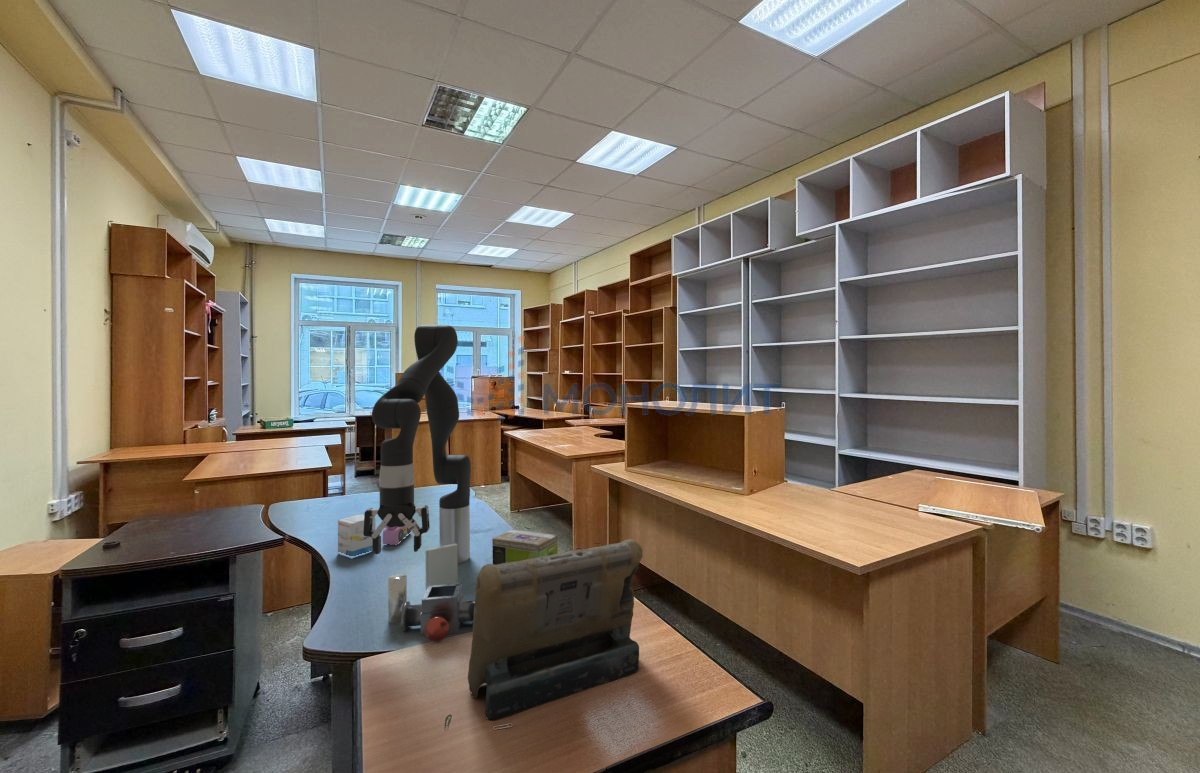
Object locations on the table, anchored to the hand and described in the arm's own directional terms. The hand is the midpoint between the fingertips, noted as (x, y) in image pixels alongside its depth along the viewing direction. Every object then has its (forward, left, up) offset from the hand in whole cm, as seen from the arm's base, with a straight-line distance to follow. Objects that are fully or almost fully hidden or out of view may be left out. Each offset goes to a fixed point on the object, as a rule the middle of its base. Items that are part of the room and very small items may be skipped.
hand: (397, 551), depth 112 cm
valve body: (+5, +11, -16) cm, 20 cm away
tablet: (+29, +36, -16) cm, 49 cm away
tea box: (-11, +30, -16) cm, 36 cm away
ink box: (-50, -25, -16) cm, 58 cm away
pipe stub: (0, 0, -16) cm, 16 cm away
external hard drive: (-13, +8, -16) cm, 22 cm away
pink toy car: (-63, -15, -16) cm, 67 cm away
